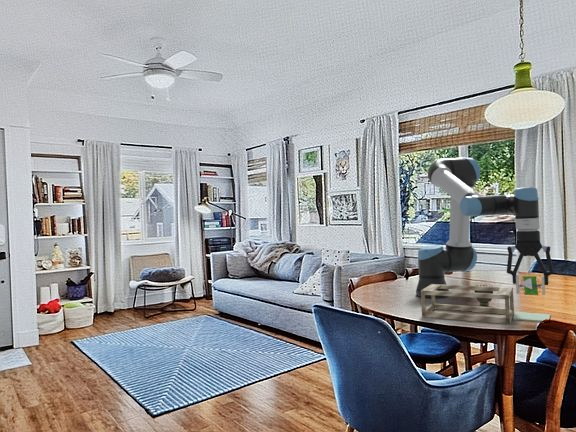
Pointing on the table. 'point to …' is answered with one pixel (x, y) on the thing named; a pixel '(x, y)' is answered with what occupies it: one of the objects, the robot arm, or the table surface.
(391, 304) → the table surface
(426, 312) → the crate
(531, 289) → the geometric puzzle
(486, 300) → the cup
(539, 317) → the felt pad
